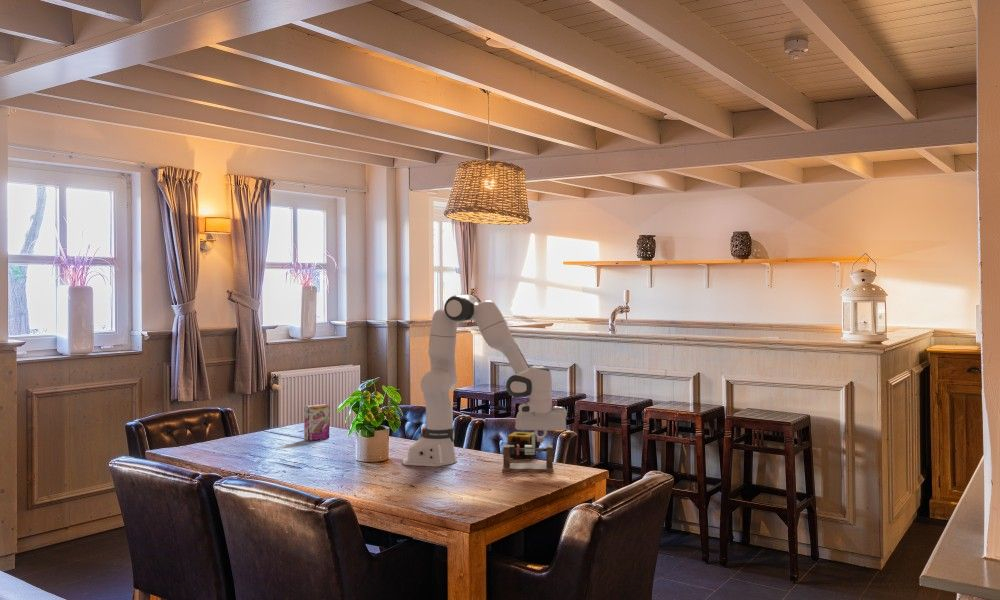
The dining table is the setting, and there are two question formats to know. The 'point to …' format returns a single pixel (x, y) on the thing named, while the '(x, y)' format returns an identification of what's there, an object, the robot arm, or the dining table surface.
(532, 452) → the sleeve
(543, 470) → the rod stand
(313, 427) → the candy bar box
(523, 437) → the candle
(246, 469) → the dining table surface
